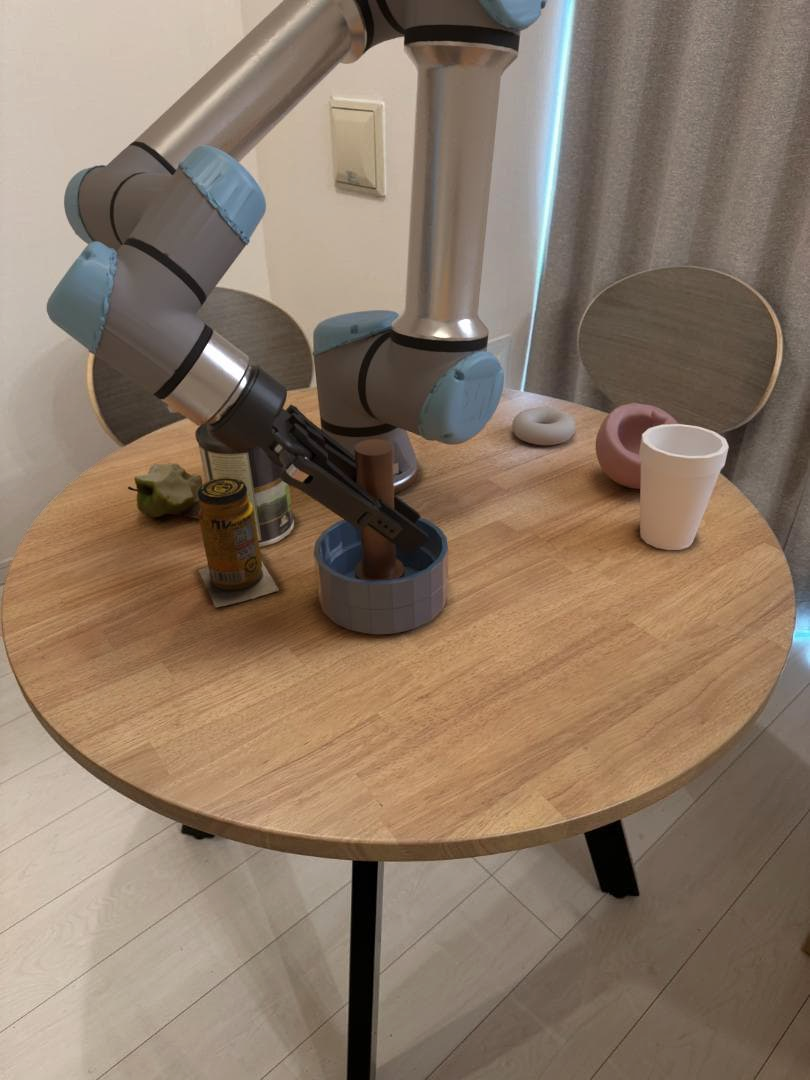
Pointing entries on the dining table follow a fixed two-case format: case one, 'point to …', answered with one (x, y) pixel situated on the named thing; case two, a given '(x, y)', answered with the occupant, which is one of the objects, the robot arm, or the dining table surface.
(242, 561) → the condiment
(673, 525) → the foam cup
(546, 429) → the donut
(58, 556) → the dining table surface
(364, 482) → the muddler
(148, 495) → the fruit
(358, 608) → the bowl
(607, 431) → the pink hollowed ball
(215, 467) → the coffee can
